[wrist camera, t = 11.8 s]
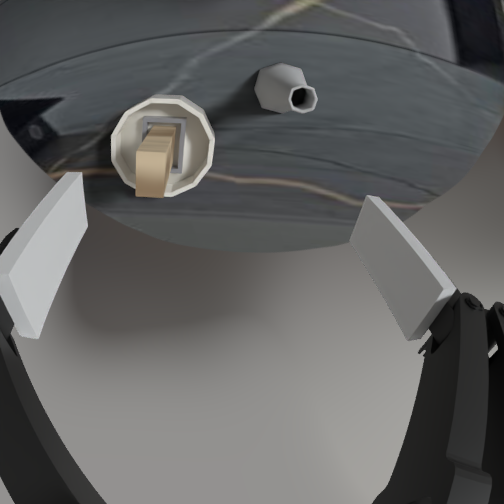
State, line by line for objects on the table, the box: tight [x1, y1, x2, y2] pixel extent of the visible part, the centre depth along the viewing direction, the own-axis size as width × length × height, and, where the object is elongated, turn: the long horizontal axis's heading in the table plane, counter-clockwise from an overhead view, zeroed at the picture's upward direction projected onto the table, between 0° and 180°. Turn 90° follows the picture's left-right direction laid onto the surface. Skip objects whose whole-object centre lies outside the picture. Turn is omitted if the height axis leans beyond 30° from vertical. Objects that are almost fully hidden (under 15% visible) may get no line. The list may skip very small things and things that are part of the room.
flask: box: [254, 62, 318, 114], centre depth 32 cm, size 7×7×10 cm
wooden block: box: [136, 125, 176, 198], centre depth 33 cm, size 5×3×11 cm, turn 170°
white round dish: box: [111, 95, 215, 197], centre depth 37 cm, size 13×13×4 cm
